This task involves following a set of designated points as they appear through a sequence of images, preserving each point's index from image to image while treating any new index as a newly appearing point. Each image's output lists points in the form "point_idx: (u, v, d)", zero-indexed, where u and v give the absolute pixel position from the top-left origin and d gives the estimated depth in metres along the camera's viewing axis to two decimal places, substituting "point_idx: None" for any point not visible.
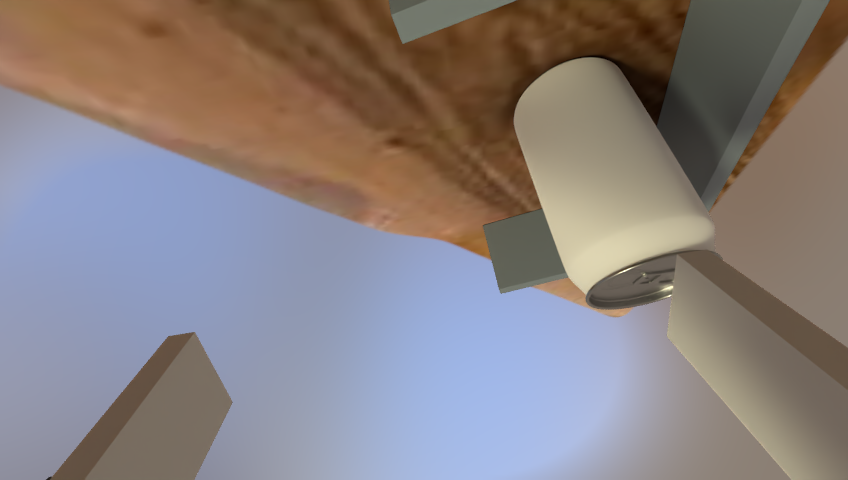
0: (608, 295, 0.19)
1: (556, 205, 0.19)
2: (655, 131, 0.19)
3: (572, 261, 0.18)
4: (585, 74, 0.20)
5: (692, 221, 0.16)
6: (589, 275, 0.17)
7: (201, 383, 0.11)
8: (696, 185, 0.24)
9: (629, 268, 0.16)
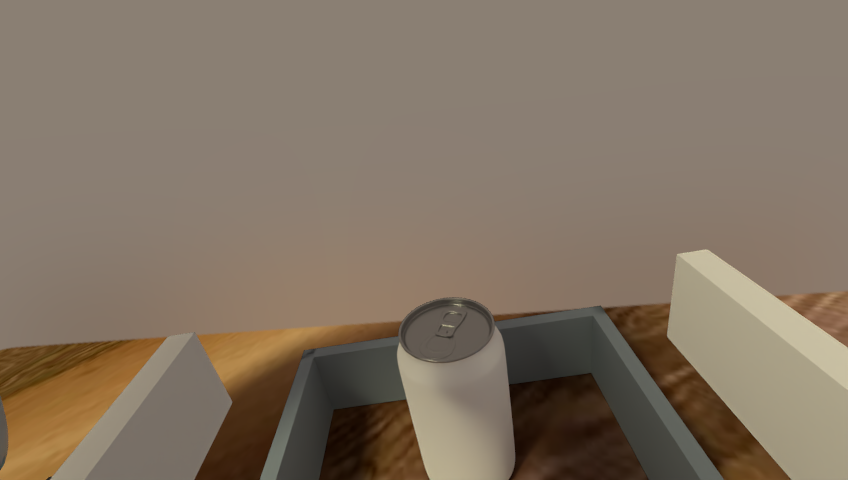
0: (469, 346, 0.22)
1: (432, 421, 0.23)
2: None
3: (432, 386, 0.21)
4: None
5: None
6: (428, 369, 0.21)
7: (201, 383, 0.11)
8: (508, 335, 0.31)
9: (402, 347, 0.22)
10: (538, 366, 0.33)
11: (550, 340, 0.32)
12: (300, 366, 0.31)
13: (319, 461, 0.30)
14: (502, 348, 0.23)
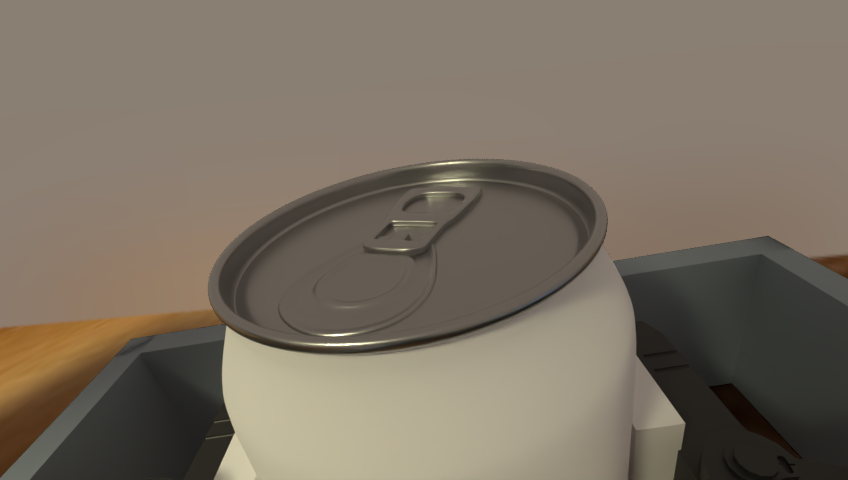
0: (499, 280, 0.05)
1: None
2: None
3: None
4: None
5: None
6: (296, 387, 0.04)
7: None
8: None
9: None
10: None
11: (657, 313, 0.14)
12: (102, 373, 0.14)
13: None
14: (629, 300, 0.06)
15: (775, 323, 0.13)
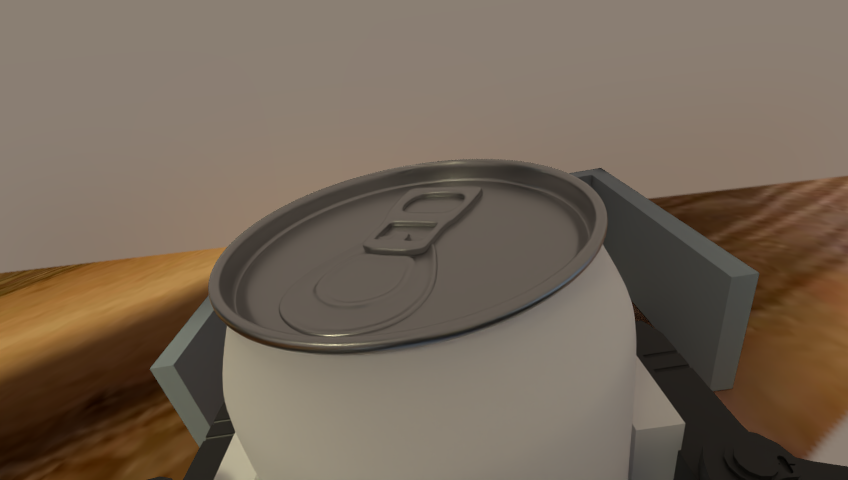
0: (499, 280, 0.05)
1: None
2: None
3: None
4: None
5: None
6: (296, 387, 0.04)
7: None
8: None
9: None
10: None
11: None
12: None
13: None
14: (630, 300, 0.06)
15: None
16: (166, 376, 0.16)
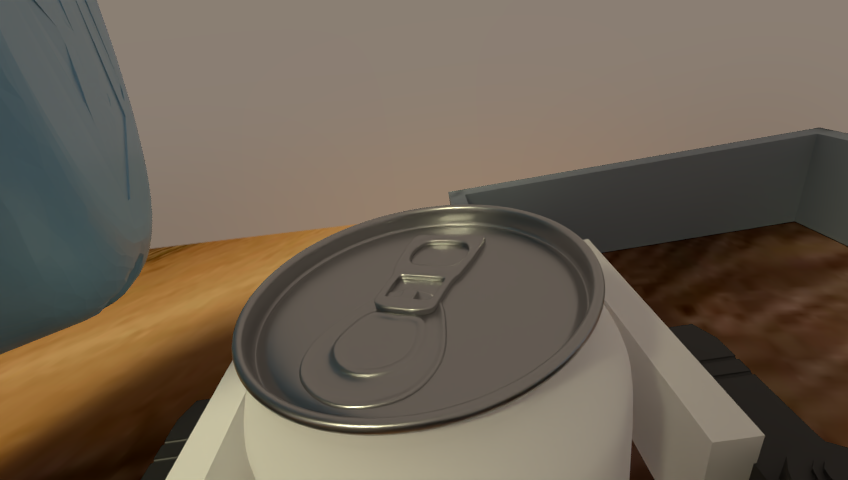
0: (506, 348, 0.05)
1: None
2: None
3: None
4: None
5: None
6: (321, 458, 0.04)
7: None
8: (708, 163, 0.25)
9: None
10: (733, 210, 0.27)
11: (757, 171, 0.26)
12: (453, 201, 0.25)
13: None
14: (626, 354, 0.06)
15: (825, 170, 0.25)
16: None
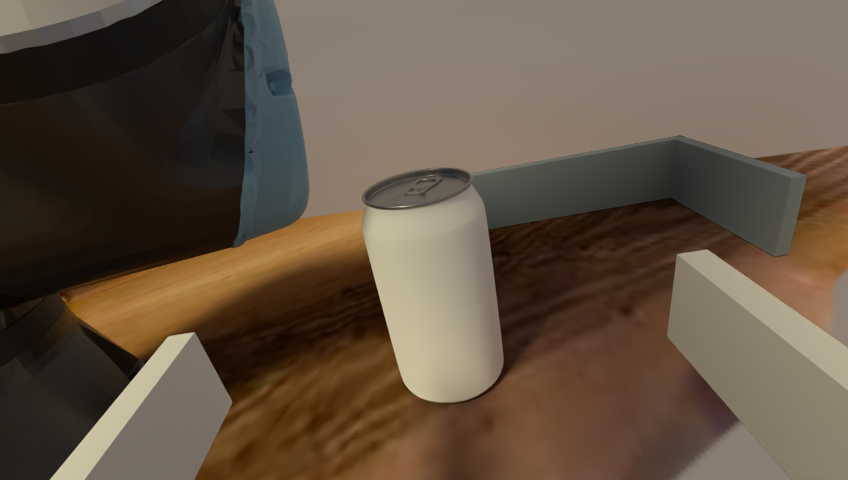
0: None
1: (402, 292, 0.19)
2: None
3: (399, 241, 0.18)
4: None
5: None
6: (394, 220, 0.18)
7: (201, 383, 0.11)
8: (607, 158, 0.39)
9: (365, 202, 0.19)
10: (628, 190, 0.41)
11: (639, 164, 0.39)
12: None
13: None
14: (482, 207, 0.20)
15: (680, 163, 0.38)
16: None
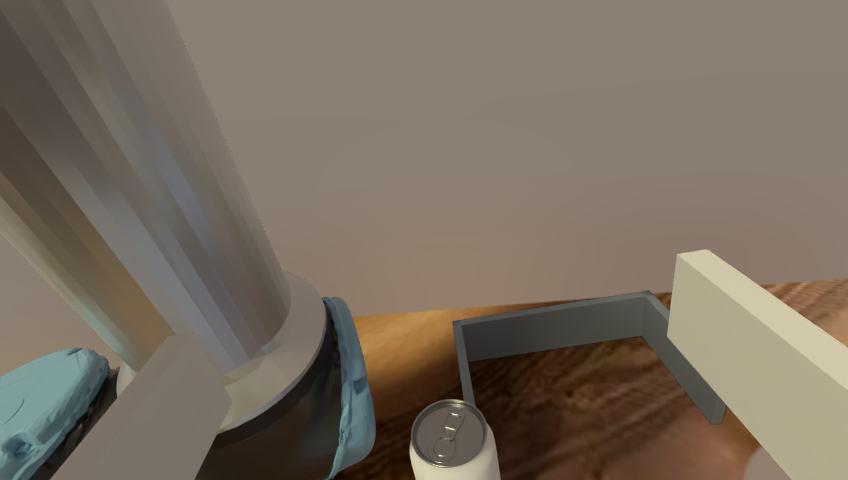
0: (467, 450, 0.28)
1: None
2: None
3: None
4: None
5: None
6: (436, 471, 0.27)
7: (201, 383, 0.11)
8: (589, 309, 0.48)
9: (414, 450, 0.28)
10: (606, 330, 0.50)
11: (616, 313, 0.48)
12: (454, 330, 0.48)
13: None
14: (493, 448, 0.29)
15: (648, 316, 0.47)
16: None
